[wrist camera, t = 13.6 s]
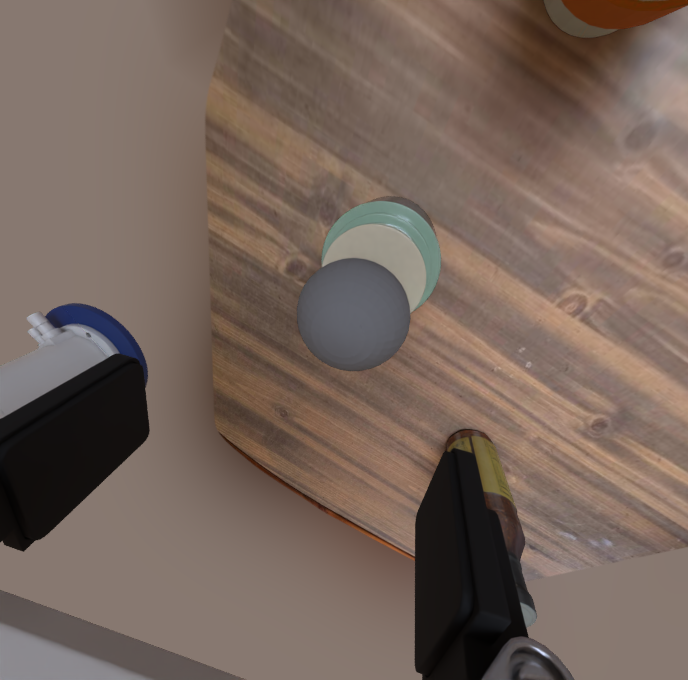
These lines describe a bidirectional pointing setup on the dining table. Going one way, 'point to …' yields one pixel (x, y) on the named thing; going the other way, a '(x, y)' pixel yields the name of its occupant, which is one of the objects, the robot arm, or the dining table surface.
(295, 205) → the dining table surface
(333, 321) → the light bulb
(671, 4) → the reusable coffee cup
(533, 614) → the sauce bottle
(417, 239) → the green lidded jar
